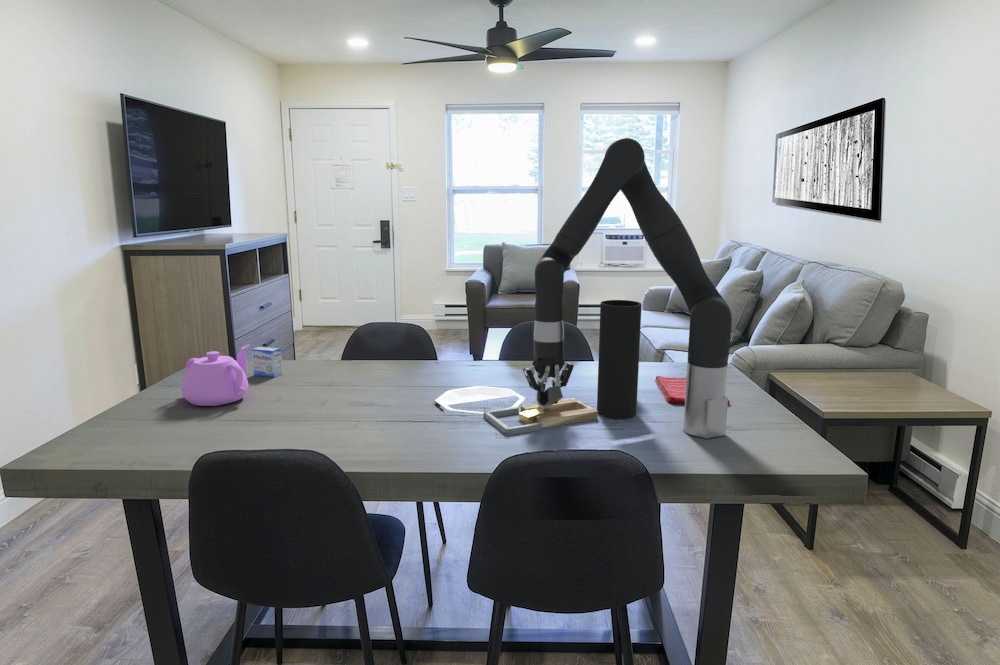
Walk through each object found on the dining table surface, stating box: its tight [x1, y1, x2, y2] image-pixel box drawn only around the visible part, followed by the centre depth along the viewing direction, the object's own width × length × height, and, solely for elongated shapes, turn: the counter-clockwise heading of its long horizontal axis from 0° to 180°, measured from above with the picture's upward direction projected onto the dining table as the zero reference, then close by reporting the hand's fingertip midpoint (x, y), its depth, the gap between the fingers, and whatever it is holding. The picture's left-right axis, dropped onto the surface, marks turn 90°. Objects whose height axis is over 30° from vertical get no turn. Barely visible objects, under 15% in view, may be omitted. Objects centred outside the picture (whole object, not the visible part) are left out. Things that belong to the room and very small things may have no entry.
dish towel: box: [654, 375, 731, 406], centre depth 193 cm, size 17×24×3 cm
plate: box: [434, 385, 526, 415], centre depth 183 cm, size 24×24×2 cm
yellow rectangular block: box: [518, 410, 538, 425], centre depth 165 cm, size 4×3×2 cm
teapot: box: [181, 343, 251, 407], centre depth 186 cm, size 22×22×14 cm
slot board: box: [520, 397, 599, 429], centre depth 169 cm, size 12×16×3 cm
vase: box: [596, 299, 643, 420], centre depth 169 cm, size 10×10×30 cm
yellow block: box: [530, 408, 548, 416], centre depth 167 cm, size 4×3×2 cm
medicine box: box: [251, 346, 283, 378], centre depth 210 cm, size 8×4×9 cm, turn 73°
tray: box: [483, 407, 543, 436], centre depth 164 cm, size 14×10×2 cm
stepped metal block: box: [535, 386, 564, 411], centre depth 167 cm, size 4×3×9 cm
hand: (548, 403), depth 167 cm, fingers closed on stepped metal block, 3 cm apart
